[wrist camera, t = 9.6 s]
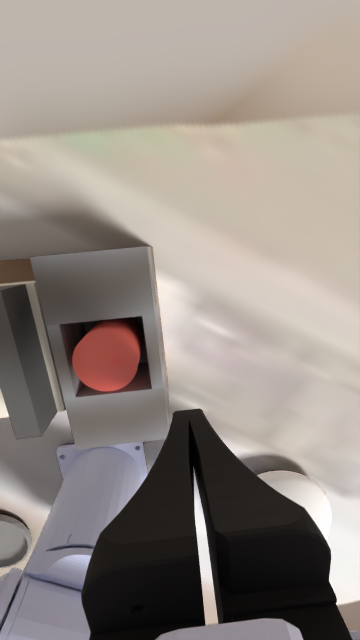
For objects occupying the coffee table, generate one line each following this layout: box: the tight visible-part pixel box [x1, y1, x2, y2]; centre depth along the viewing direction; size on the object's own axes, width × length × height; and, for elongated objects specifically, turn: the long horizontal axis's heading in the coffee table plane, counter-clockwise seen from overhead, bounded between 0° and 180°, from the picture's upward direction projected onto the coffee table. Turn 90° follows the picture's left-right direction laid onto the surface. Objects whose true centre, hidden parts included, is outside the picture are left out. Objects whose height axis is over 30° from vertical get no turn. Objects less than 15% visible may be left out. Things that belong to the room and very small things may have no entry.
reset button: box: [72, 317, 143, 391], centre depth 16 cm, size 4×4×4 cm
